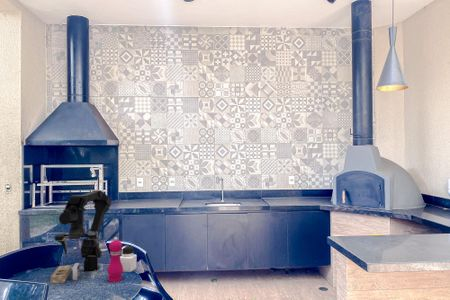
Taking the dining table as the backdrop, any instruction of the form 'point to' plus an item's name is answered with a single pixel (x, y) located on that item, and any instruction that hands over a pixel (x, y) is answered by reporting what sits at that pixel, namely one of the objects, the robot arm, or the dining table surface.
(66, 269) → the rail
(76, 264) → the clip
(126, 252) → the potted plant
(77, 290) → the dining table surface
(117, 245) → the pepper mill
